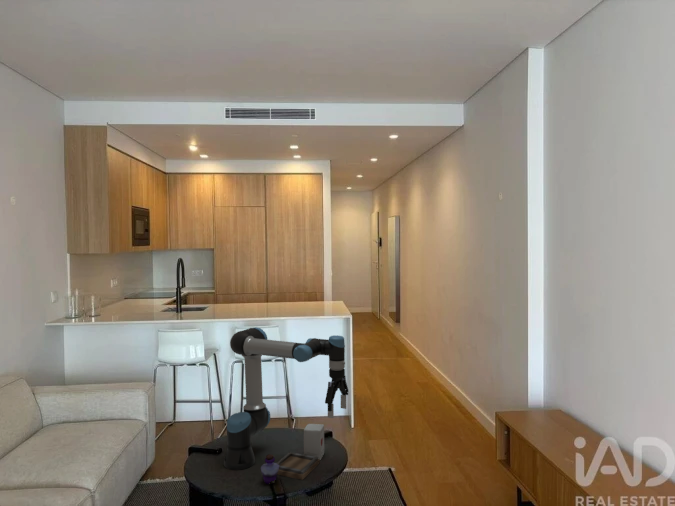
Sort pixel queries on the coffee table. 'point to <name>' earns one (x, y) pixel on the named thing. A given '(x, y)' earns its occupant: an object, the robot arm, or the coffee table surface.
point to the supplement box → (314, 440)
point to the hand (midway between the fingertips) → (337, 412)
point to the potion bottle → (269, 469)
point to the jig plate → (297, 465)
